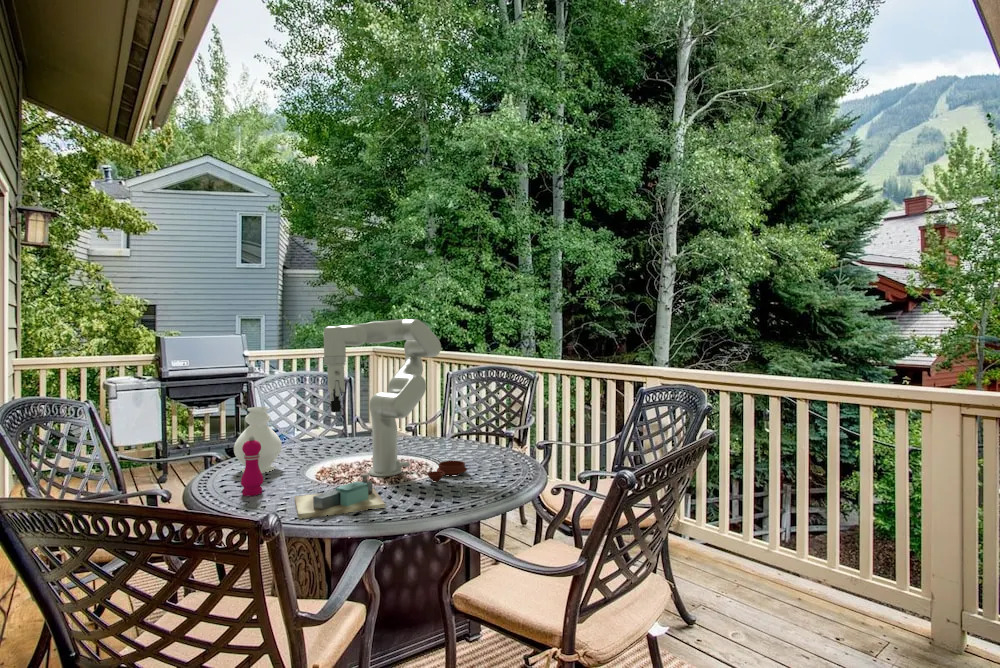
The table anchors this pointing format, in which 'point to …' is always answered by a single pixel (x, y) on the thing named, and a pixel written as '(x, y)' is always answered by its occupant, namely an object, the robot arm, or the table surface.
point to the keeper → (353, 493)
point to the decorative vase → (259, 439)
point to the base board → (306, 505)
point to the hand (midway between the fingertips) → (335, 411)
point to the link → (333, 498)
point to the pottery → (447, 469)
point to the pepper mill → (251, 468)
